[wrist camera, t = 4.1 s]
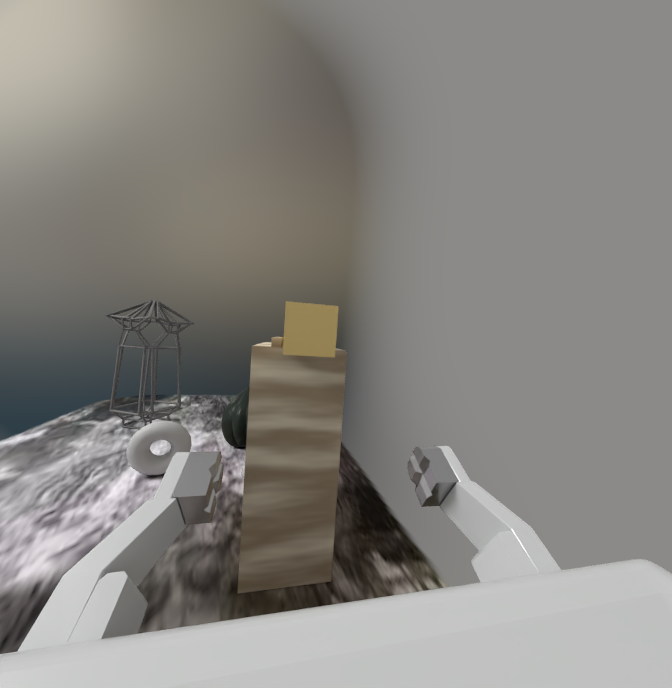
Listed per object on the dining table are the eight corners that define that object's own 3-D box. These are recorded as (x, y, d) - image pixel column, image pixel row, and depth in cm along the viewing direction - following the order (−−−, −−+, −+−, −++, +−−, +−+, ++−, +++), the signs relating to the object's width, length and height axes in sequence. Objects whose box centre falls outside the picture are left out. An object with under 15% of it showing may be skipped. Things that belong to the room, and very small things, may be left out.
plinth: (331, 581, 28) (347, 342, 27) (237, 593, 26) (252, 336, 25) (315, 492, 44) (325, 339, 43) (256, 496, 42) (265, 336, 41)
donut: (121, 484, 42) (124, 426, 42) (128, 473, 46) (131, 420, 45) (189, 474, 47) (191, 421, 46) (191, 465, 50) (193, 416, 50)
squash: (262, 440, 51) (282, 379, 61) (198, 433, 54) (227, 375, 63) (281, 461, 61) (296, 406, 71) (227, 454, 64) (249, 402, 74)
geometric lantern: (93, 429, 64) (101, 294, 64) (149, 413, 79) (155, 304, 79) (145, 436, 61) (154, 295, 61) (192, 418, 76) (199, 305, 77)
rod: (334, 357, 17) (338, 306, 17) (282, 354, 16) (286, 301, 16) (306, 344, 42) (307, 324, 42) (285, 343, 42) (286, 322, 42)
